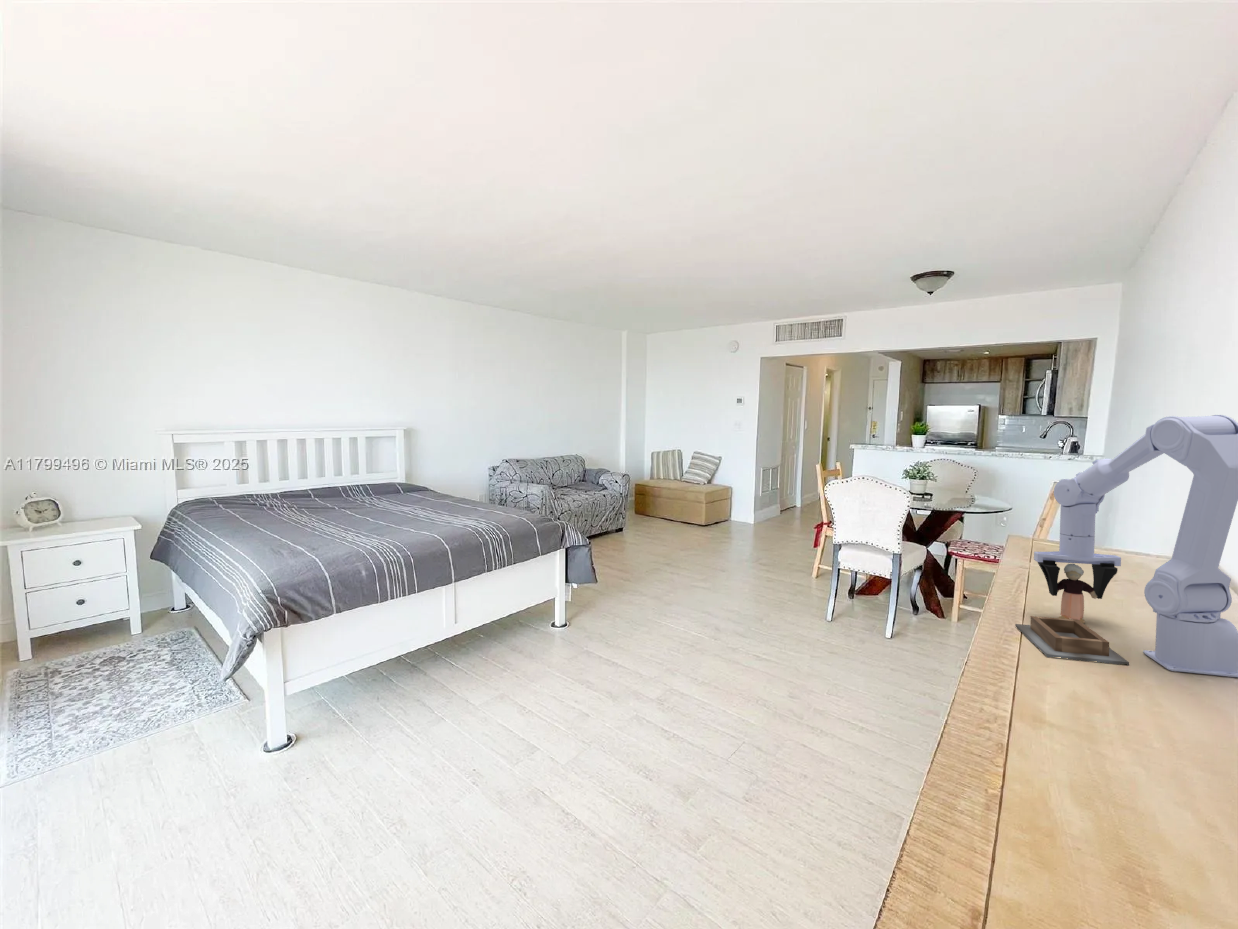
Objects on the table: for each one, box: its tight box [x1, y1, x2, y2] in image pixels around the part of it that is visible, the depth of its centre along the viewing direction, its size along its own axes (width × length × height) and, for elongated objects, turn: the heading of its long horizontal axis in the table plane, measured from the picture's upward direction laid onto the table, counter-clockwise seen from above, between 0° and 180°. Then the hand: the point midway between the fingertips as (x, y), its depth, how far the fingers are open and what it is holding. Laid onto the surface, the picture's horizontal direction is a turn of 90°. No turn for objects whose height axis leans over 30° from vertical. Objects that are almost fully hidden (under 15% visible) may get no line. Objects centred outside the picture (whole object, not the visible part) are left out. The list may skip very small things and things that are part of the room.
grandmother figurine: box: [1051, 563, 1098, 624], centre depth 114 cm, size 8×4×13 cm, turn 68°
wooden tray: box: [1014, 615, 1130, 666], centre depth 103 cm, size 12×16×3 cm
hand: (1074, 595), depth 114 cm, fingers closed on grandmother figurine, 7 cm apart
